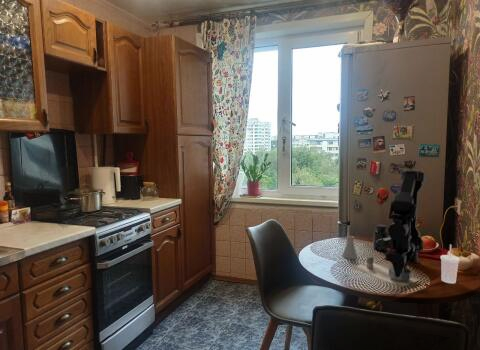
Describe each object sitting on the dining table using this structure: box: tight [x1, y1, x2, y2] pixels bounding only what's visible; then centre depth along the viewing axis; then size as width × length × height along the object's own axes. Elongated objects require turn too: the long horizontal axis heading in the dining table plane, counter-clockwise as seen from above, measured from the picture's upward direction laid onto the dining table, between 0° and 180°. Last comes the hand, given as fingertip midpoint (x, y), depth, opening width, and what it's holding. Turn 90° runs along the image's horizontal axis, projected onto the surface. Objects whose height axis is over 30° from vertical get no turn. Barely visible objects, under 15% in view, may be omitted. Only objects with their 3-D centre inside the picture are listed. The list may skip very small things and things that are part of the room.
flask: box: [341, 235, 358, 260], centre depth 149 cm, size 7×7×10 cm
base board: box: [350, 255, 421, 288], centre depth 130 cm, size 12×22×6 cm, turn 32°
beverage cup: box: [439, 244, 461, 284], centre depth 125 cm, size 6×6×14 cm
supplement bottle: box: [372, 223, 390, 253], centre depth 160 cm, size 7×7×12 cm
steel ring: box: [388, 266, 412, 281], centre depth 125 cm, size 7×7×2 cm
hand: (399, 273), depth 125 cm, fingers closed on steel ring, 7 cm apart
